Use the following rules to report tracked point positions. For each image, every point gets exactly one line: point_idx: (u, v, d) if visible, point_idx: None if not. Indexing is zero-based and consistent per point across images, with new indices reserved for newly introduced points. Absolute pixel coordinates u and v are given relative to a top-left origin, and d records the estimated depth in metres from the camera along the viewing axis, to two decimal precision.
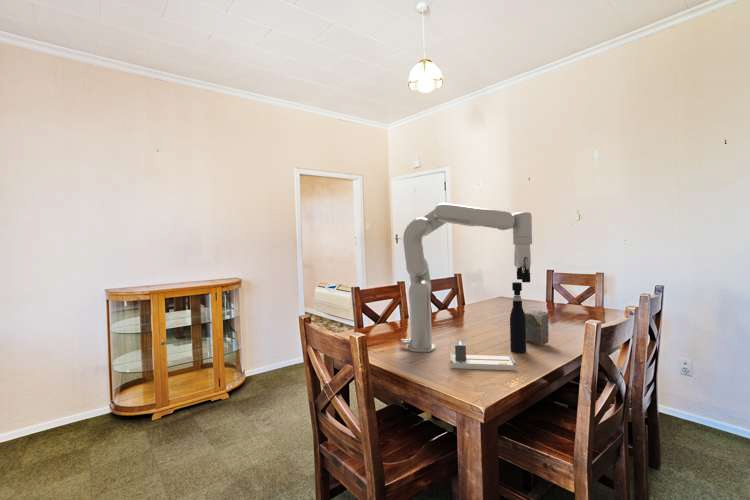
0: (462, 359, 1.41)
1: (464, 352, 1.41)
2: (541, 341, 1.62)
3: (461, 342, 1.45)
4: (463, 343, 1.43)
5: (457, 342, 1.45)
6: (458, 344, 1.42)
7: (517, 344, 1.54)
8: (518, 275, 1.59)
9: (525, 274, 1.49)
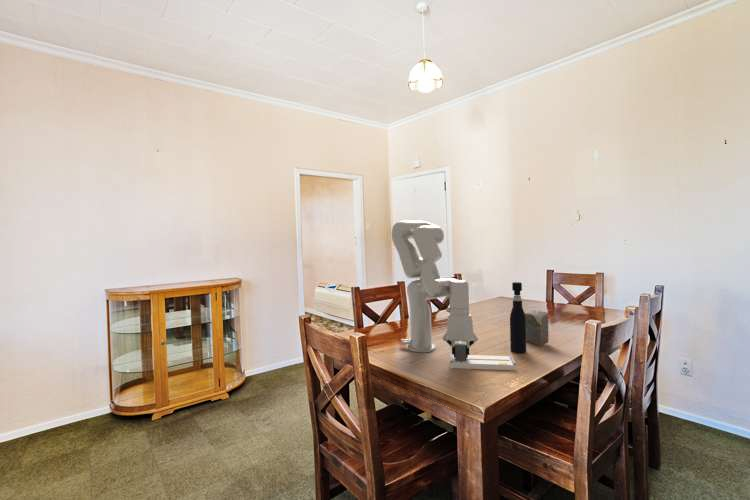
0: (462, 359, 1.41)
1: (464, 352, 1.41)
2: (541, 341, 1.62)
3: (461, 342, 1.45)
4: (463, 343, 1.43)
5: (457, 342, 1.45)
6: (458, 344, 1.42)
7: (517, 344, 1.54)
8: None
9: (468, 348, 1.43)
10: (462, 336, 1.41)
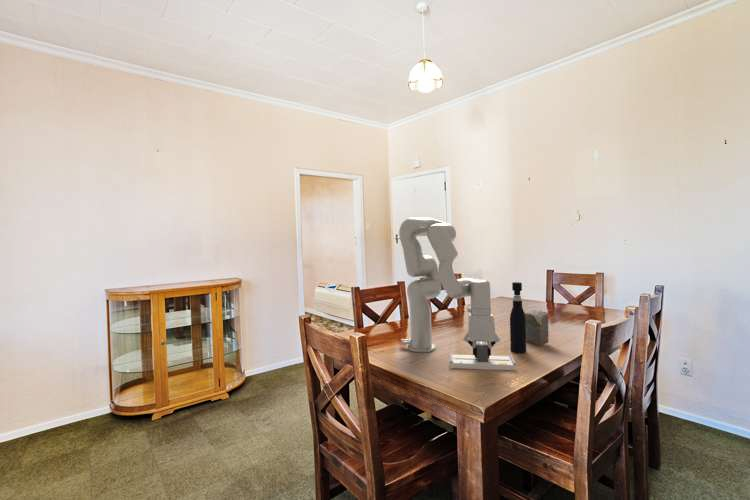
0: (484, 360, 1.39)
1: (486, 353, 1.39)
2: (541, 341, 1.62)
3: (482, 343, 1.43)
4: (484, 344, 1.42)
5: (478, 343, 1.43)
6: (479, 345, 1.41)
7: (517, 344, 1.54)
8: (476, 353, 1.42)
9: None
10: (484, 336, 1.39)
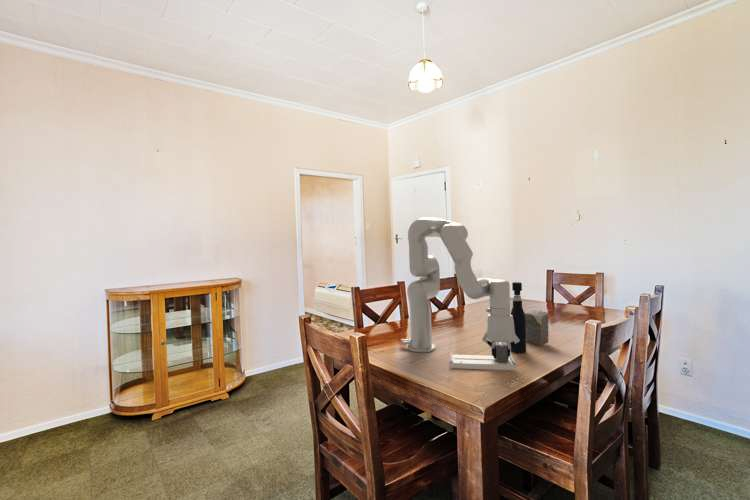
0: (503, 360, 1.38)
1: (505, 353, 1.37)
2: (541, 341, 1.62)
3: (501, 343, 1.42)
4: (504, 344, 1.40)
5: (497, 343, 1.42)
6: (499, 345, 1.39)
7: (517, 344, 1.54)
8: (495, 353, 1.40)
9: None
10: (503, 337, 1.38)
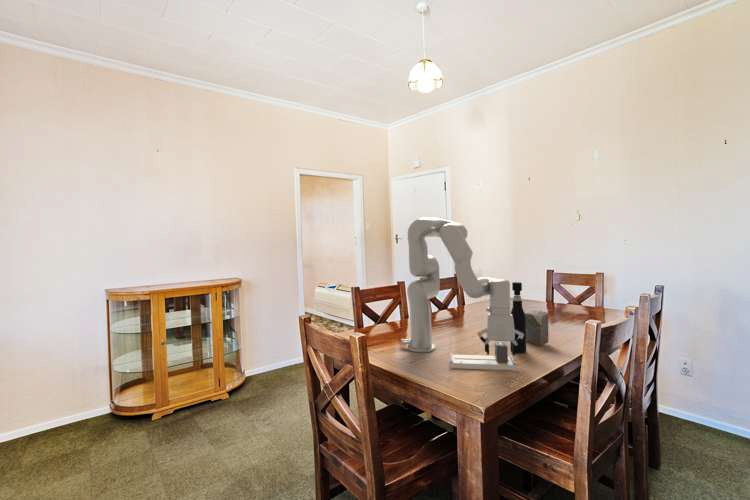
0: (504, 360, 1.38)
1: (506, 353, 1.37)
2: (541, 341, 1.62)
3: (501, 343, 1.42)
4: (504, 344, 1.40)
5: (497, 343, 1.42)
6: (499, 345, 1.39)
7: None
8: None
9: None
10: (503, 336, 1.38)
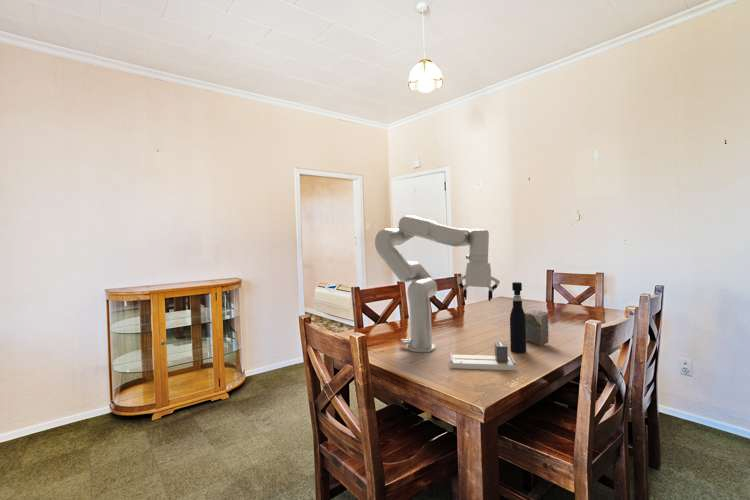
0: (504, 360, 1.38)
1: (506, 353, 1.37)
2: (541, 341, 1.62)
3: (501, 343, 1.42)
4: (504, 344, 1.40)
5: (497, 343, 1.42)
6: (499, 345, 1.39)
7: (517, 344, 1.54)
8: (466, 295, 1.50)
9: None
10: (480, 282, 1.47)
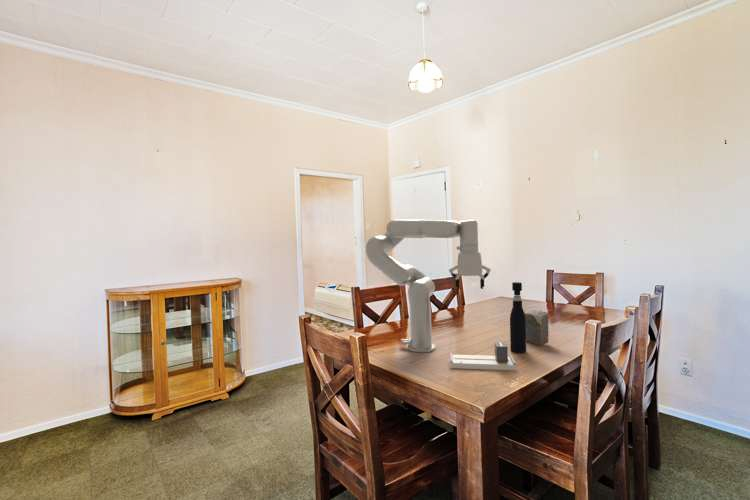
0: (504, 360, 1.38)
1: (506, 353, 1.37)
2: (541, 341, 1.62)
3: (501, 343, 1.42)
4: (504, 344, 1.40)
5: (497, 343, 1.42)
6: (499, 345, 1.39)
7: (517, 344, 1.54)
8: None
9: None
10: (472, 271, 1.51)
